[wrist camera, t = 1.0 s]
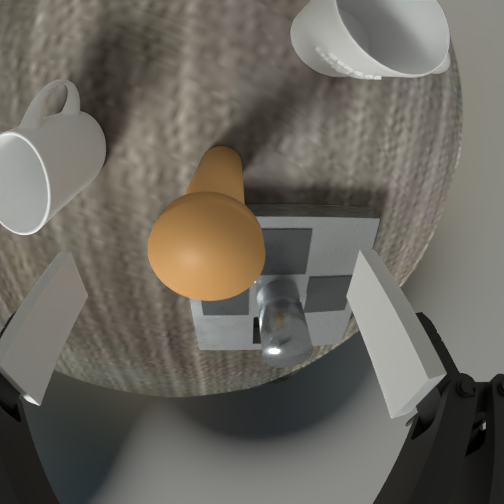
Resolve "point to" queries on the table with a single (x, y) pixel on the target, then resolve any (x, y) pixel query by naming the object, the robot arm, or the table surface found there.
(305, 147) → the table surface
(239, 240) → the tan wooden pestle
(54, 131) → the mug
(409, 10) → the mug
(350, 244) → the checkered knob plate
